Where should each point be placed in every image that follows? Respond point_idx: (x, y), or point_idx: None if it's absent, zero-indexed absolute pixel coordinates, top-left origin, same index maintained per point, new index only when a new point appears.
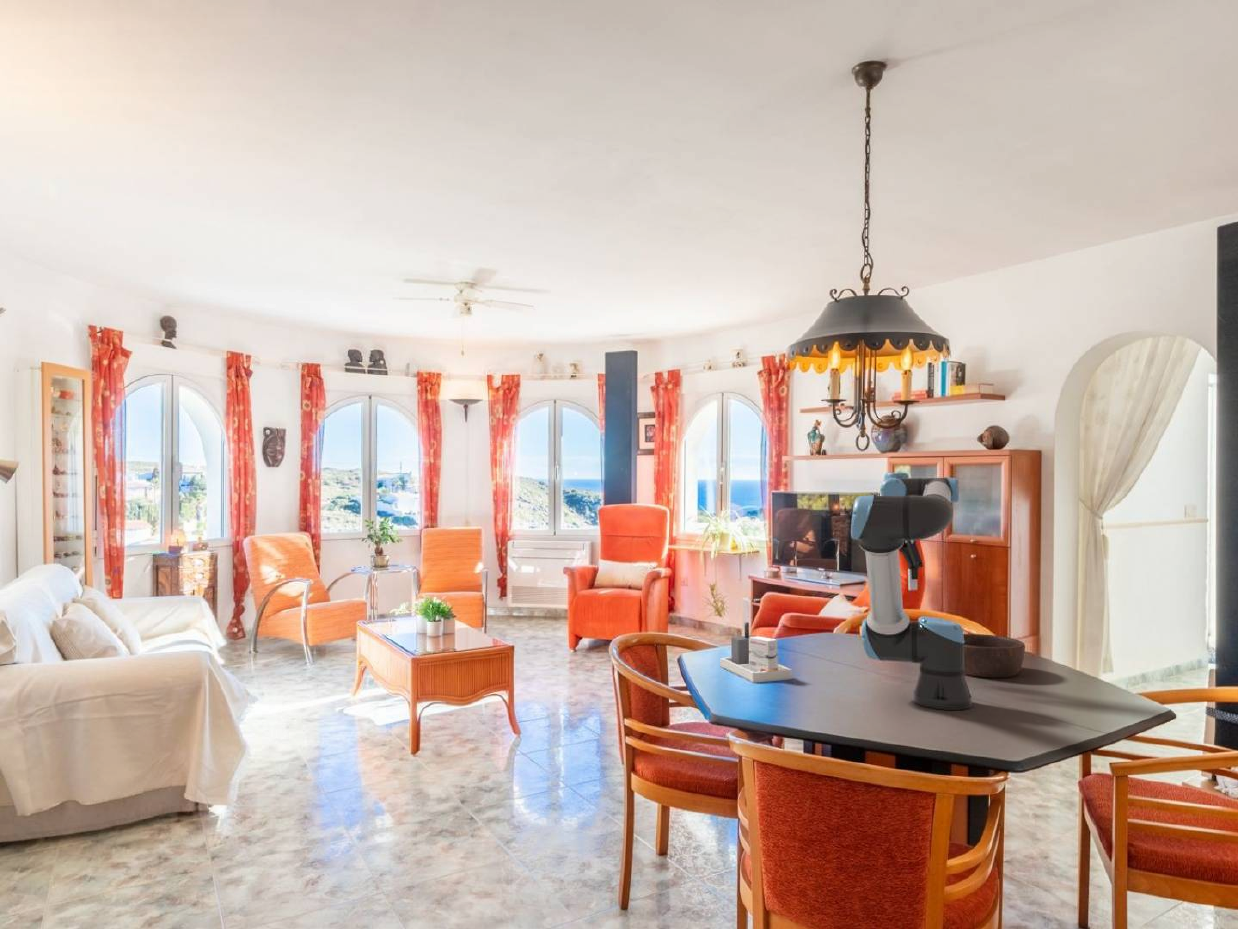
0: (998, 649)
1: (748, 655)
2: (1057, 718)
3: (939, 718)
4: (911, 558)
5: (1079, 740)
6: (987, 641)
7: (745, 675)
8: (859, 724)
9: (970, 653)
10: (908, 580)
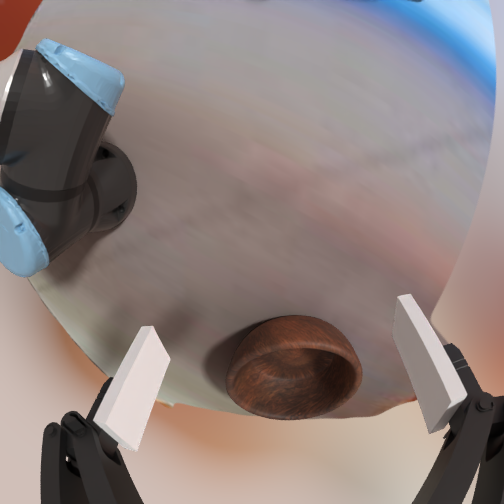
0: (226, 378)
1: None
2: (63, 285)
3: None
4: (58, 476)
5: None
6: (329, 400)
7: None
8: None
9: (249, 345)
10: (132, 364)
